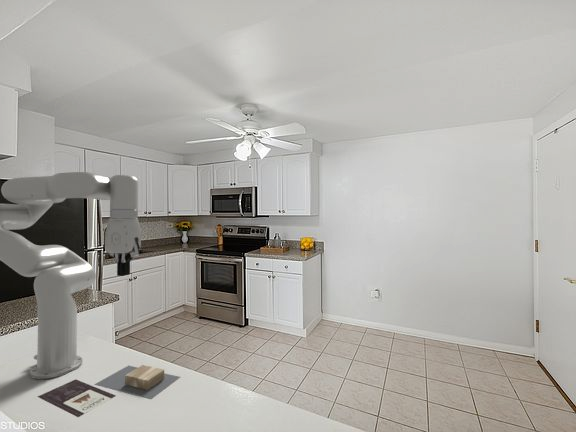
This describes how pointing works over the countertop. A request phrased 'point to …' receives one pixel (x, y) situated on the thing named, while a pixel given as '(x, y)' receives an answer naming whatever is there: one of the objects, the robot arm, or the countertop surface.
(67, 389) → the chocolate bar
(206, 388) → the countertop surface
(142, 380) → the wooden block
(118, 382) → the mat
